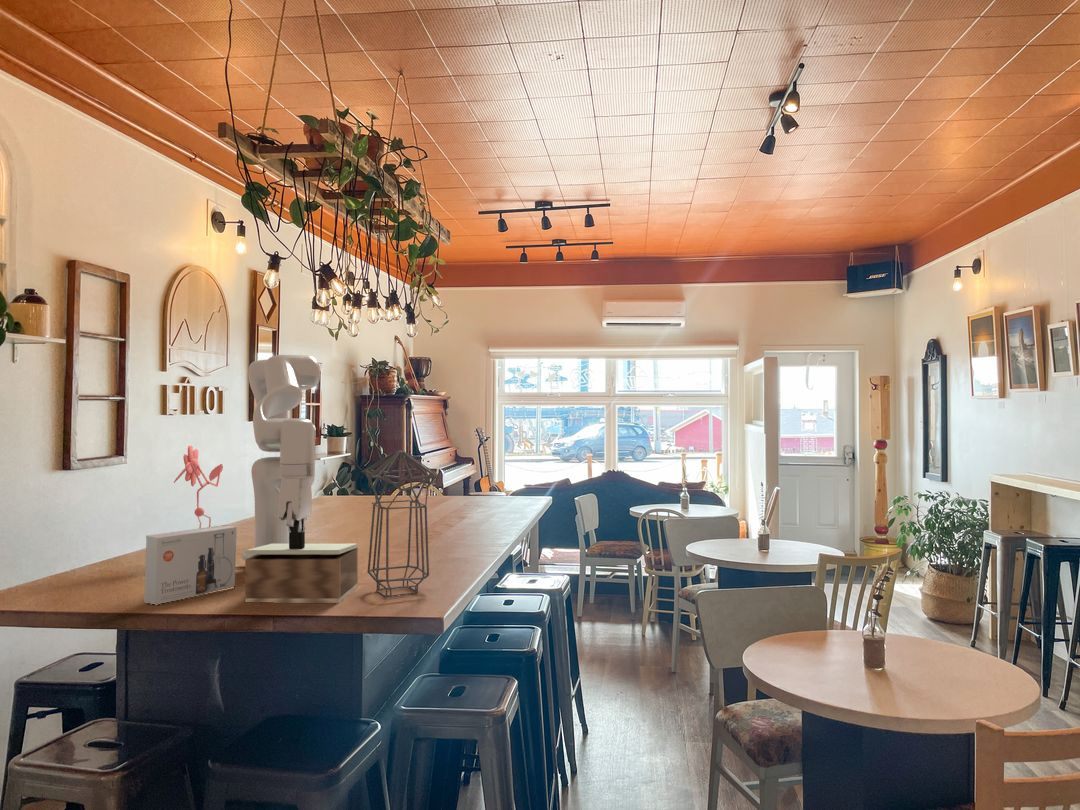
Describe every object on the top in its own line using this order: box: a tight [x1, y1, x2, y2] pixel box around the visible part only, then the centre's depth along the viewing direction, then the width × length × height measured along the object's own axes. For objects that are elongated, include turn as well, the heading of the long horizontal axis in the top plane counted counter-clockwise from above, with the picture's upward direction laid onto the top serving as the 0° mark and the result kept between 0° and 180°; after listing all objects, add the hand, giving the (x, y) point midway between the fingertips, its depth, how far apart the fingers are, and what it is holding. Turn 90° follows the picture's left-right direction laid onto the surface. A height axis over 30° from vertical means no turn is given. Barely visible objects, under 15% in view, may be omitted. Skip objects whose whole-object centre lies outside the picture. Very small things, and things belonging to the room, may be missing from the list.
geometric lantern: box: [360, 450, 439, 598], centre depth 182 cm, size 16×16×35 cm
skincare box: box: [143, 524, 238, 605], centre depth 180 cm, size 21×5×16 cm, turn 148°
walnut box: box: [244, 548, 359, 604], centre depth 181 cm, size 22×16×10 cm
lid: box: [245, 543, 359, 554], centre depth 181 cm, size 22×16×1 cm
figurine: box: [173, 444, 224, 529], centre depth 224 cm, size 15×26×35 cm, turn 5°
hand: (296, 548), depth 176 cm, fingers closed
